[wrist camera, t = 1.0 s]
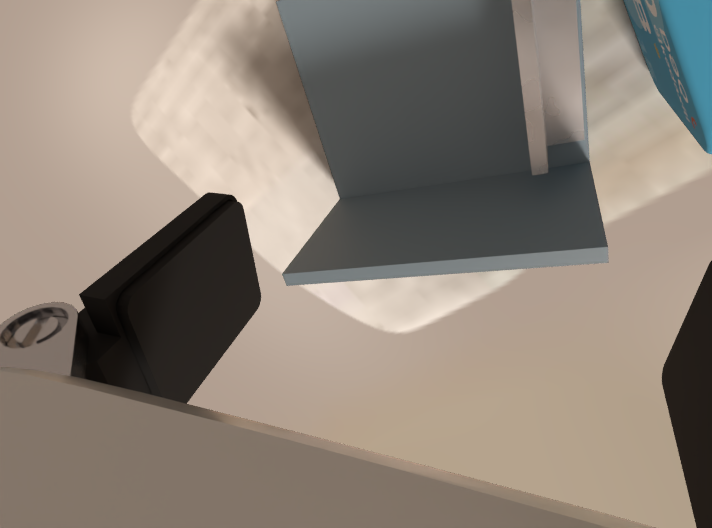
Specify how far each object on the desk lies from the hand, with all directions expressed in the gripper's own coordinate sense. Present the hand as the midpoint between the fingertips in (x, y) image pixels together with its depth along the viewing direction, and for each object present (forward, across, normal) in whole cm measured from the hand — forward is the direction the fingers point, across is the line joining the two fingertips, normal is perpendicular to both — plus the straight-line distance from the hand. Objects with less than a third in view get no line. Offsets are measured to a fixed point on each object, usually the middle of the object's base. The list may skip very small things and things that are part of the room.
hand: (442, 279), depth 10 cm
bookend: (+22, -2, 0) cm, 22 cm away
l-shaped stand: (+23, +4, +2) cm, 24 cm away
